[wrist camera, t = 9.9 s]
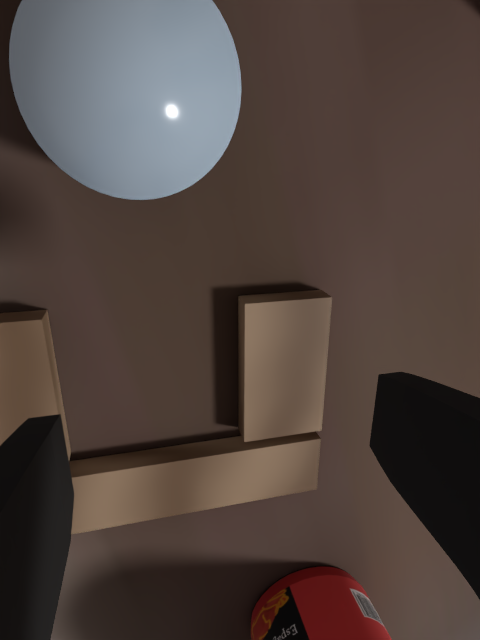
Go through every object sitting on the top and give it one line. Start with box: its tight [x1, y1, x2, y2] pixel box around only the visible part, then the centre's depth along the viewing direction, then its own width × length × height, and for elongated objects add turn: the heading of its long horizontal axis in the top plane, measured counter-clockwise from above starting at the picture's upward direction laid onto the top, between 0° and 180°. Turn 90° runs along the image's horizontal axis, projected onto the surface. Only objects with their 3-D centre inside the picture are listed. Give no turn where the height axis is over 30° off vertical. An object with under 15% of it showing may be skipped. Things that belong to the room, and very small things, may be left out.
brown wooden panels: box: [0, 290, 332, 534], centre depth 20 cm, size 16×11×1 cm
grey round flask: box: [9, 0, 241, 200], centre depth 13 cm, size 9×6×6 cm, turn 0°
